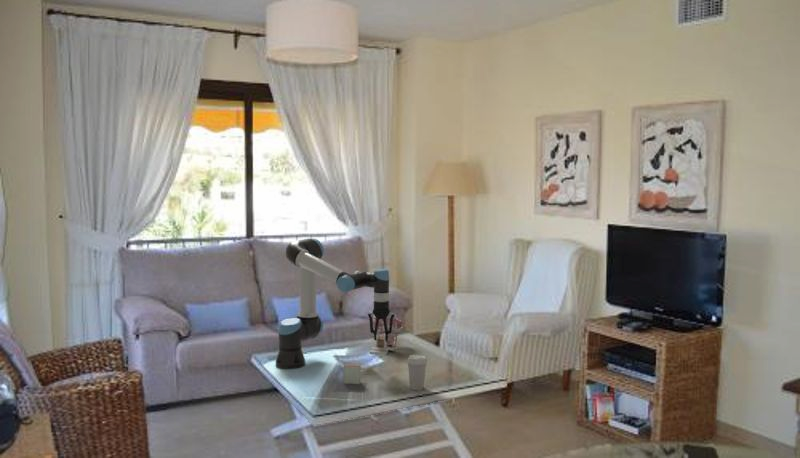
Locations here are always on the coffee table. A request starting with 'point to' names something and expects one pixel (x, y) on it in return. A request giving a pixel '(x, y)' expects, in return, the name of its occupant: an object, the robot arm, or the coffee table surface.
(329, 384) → the coffee table surface
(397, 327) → the flower
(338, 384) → the mat
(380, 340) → the tapered wooden block
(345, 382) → the tile
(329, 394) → the coffee table surface
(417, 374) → the coffee cup
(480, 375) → the coffee table surface
